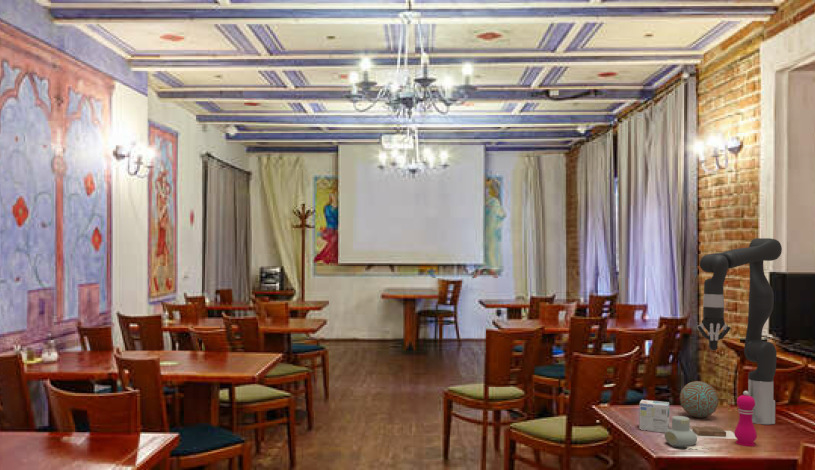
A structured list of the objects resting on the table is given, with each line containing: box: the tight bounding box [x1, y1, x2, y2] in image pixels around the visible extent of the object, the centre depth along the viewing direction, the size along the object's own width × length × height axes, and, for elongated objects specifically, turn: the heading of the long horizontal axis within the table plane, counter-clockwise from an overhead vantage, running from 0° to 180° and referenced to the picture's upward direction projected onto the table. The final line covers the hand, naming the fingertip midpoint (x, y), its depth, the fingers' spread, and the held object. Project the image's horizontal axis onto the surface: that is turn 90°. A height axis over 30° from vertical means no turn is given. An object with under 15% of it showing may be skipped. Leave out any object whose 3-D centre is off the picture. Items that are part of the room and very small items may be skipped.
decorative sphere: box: [679, 380, 719, 419], centre depth 303 cm, size 15×15×15 cm
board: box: [690, 428, 738, 440], centre depth 271 cm, size 20×12×1 cm, turn 84°
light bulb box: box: [638, 399, 670, 434], centre depth 281 cm, size 11×7×11 cm, turn 65°
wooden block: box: [692, 425, 726, 436], centre depth 271 cm, size 2×7×10 cm
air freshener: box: [664, 415, 698, 449], centre depth 258 cm, size 11×8×10 cm
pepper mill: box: [734, 390, 758, 447], centre depth 258 cm, size 7×7×20 cm
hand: (713, 350), depth 283 cm, fingers closed
